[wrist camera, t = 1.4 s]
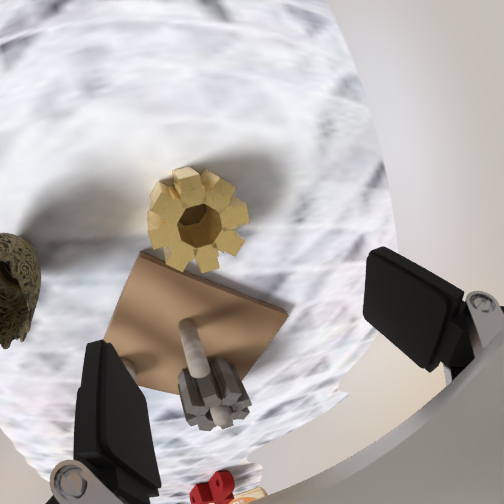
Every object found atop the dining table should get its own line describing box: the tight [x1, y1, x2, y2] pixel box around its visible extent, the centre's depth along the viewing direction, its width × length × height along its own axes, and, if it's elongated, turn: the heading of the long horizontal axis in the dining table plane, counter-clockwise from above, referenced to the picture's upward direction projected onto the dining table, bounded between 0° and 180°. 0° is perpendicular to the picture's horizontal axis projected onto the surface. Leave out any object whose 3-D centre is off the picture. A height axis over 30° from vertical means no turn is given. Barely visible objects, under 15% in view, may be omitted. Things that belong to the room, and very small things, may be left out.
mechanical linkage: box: [190, 471, 235, 504], centre depth 42 cm, size 16×7×5 cm, turn 157°
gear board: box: [103, 251, 289, 431], centre depth 24 cm, size 14×16×7 cm
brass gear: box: [148, 167, 250, 273], centre depth 20 cm, size 7×7×5 cm
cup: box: [0, 233, 41, 349], centre depth 15 cm, size 7×7×8 cm
